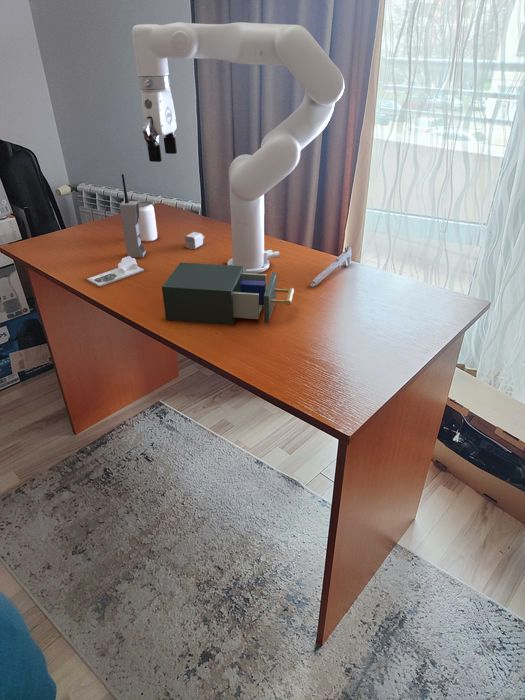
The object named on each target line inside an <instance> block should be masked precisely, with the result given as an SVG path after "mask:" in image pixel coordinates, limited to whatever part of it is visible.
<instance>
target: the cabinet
mask: <svg viewBox="0 0 525 700" xmlns="http://www.w3.org/2000/svg"><path fill="white" fill-rule="evenodd" d="M241 273H244V270H243V266H232V265H227V264H213V263H198V262H197V263H196V262H179V263H178V265H177V266H176V267H175V268H174V270H173V271H172V273H171V274H170V275H169V277H168V278H167V279H166V280H165V281H164V283H163V284H162V286H161V292H162V293H161V294H162V299H163V308H164V316H165V320H166V321H173V322H174V321H175V322H189V323H200V324H201V323H202V324H203V323H204V324H213V325H214V324H215V325H226V326H227V325H229V326H233V325H234V323H235V320H236V318H235V317H233V300H232V292H233V290H234V288H235V286H236V284H237V282H238V280H239V278H240V275H241Z"/></svg>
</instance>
